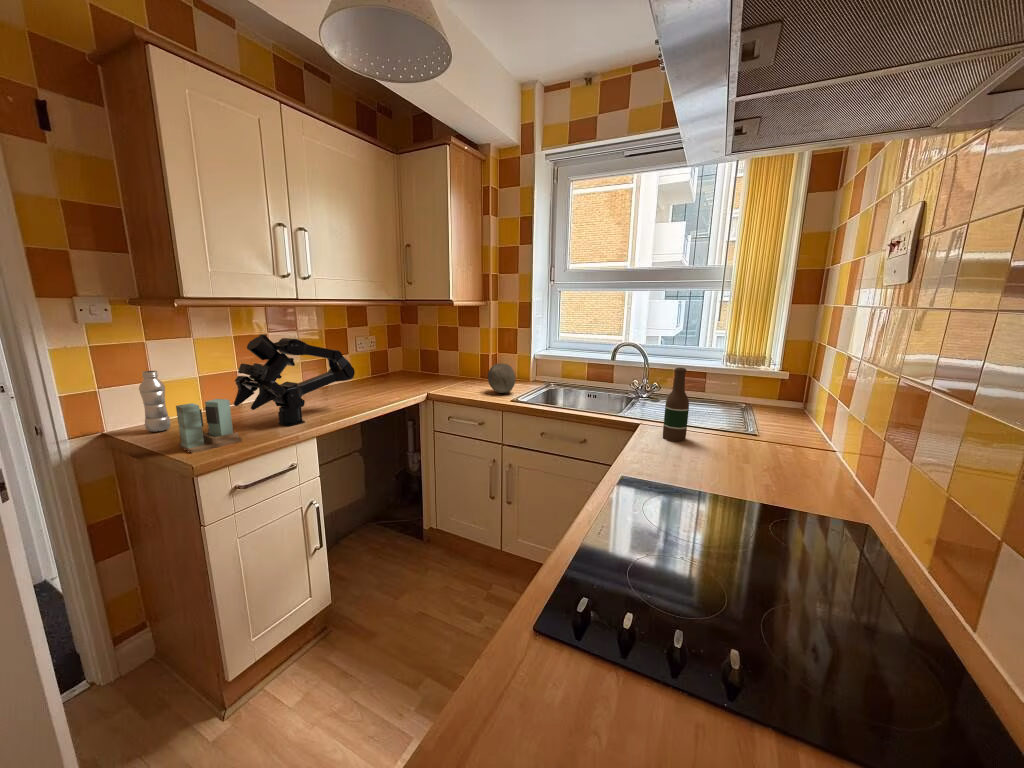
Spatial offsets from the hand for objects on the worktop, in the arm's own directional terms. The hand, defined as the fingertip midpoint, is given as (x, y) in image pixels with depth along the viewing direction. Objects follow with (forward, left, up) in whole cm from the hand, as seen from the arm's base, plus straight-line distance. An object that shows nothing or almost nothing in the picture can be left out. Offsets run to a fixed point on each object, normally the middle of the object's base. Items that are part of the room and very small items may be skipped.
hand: (243, 407), depth 131 cm
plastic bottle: (+14, -27, -10) cm, 32 cm away
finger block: (+7, +1, -8) cm, 11 cm away
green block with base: (+10, +1, -9) cm, 14 cm away
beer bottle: (-80, +117, -10) cm, 142 cm away
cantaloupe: (-103, +31, -10) cm, 108 cm away
